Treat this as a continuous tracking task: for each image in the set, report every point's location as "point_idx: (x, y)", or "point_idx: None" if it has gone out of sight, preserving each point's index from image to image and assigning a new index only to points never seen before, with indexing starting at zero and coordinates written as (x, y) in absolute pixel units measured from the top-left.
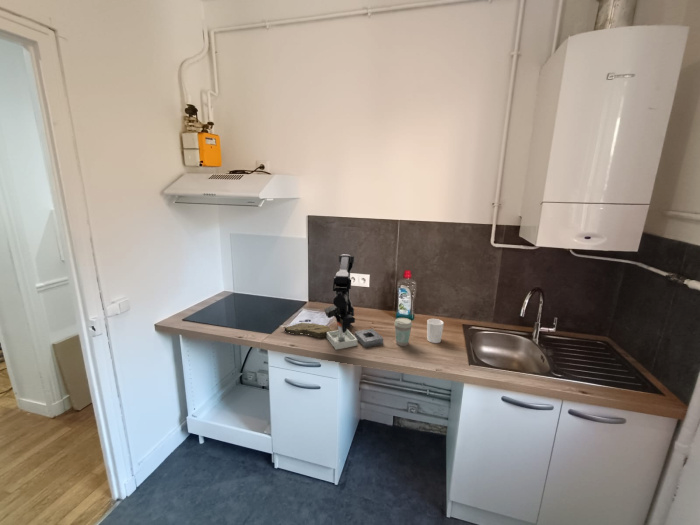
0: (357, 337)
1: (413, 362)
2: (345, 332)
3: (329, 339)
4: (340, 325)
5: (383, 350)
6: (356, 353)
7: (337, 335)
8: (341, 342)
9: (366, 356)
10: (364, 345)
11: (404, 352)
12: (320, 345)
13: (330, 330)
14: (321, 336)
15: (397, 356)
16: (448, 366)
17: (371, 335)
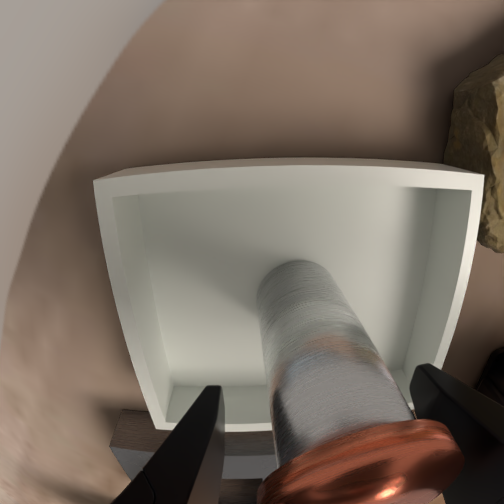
0: (265, 431)
1: (9, 460)
2: (409, 372)
3: (361, 160)
4: (279, 476)
5: (86, 455)
6: (42, 326)
7: (419, 288)
8: (108, 267)
9: (13, 361)
10: (126, 420)
11: (74, 486)
12: (291, 26)
13: (496, 241)
14: (459, 105)
15: (38, 457)
16: (13, 489)
17: (249, 491)
